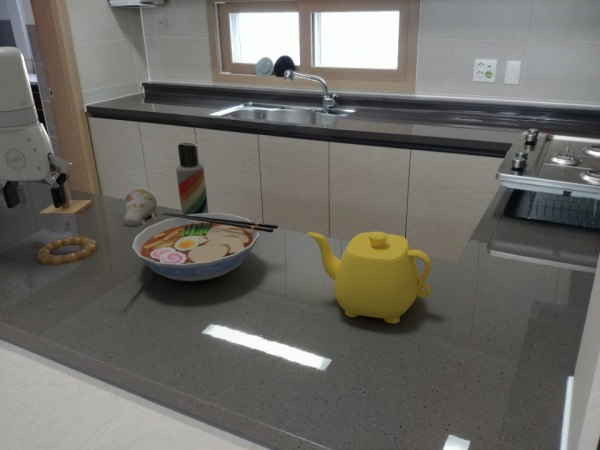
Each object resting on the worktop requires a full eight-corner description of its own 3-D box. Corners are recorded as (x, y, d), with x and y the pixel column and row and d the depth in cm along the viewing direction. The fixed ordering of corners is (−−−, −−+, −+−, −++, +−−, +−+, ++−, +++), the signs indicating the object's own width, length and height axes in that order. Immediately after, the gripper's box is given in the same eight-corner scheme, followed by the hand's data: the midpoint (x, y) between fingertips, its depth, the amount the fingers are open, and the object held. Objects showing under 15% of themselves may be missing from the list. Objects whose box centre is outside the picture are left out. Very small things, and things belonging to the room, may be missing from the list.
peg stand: (39, 217, 129) (26, 164, 124) (59, 204, 138) (47, 154, 132) (74, 217, 128) (63, 164, 123) (92, 204, 137) (82, 154, 131)
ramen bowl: (106, 287, 96) (98, 246, 93) (183, 238, 115) (178, 202, 112) (225, 316, 86) (220, 271, 83) (287, 256, 105) (285, 218, 102)
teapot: (424, 338, 79) (429, 260, 74) (296, 317, 85) (292, 244, 80) (435, 292, 90) (440, 222, 86) (322, 276, 97) (320, 211, 92)
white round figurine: (116, 234, 119) (109, 190, 120) (139, 235, 128) (132, 195, 129) (146, 226, 117) (138, 182, 118) (167, 228, 127) (160, 188, 128)
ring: (27, 269, 104) (24, 258, 103) (57, 244, 114) (55, 234, 113) (81, 270, 103) (79, 259, 102) (107, 245, 113) (105, 235, 112)
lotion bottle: (179, 232, 118) (167, 143, 110) (200, 225, 121) (190, 138, 114) (194, 239, 114) (182, 148, 106) (215, 231, 118) (206, 142, 110)
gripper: (-43, 123, 96) (-16, 213, 102) (48, 121, 93) (69, 212, 100) (-15, 115, 102) (8, 199, 109) (70, 112, 100) (88, 198, 107)
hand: (37, 205), depth 105 cm, fingers open, 9 cm apart
